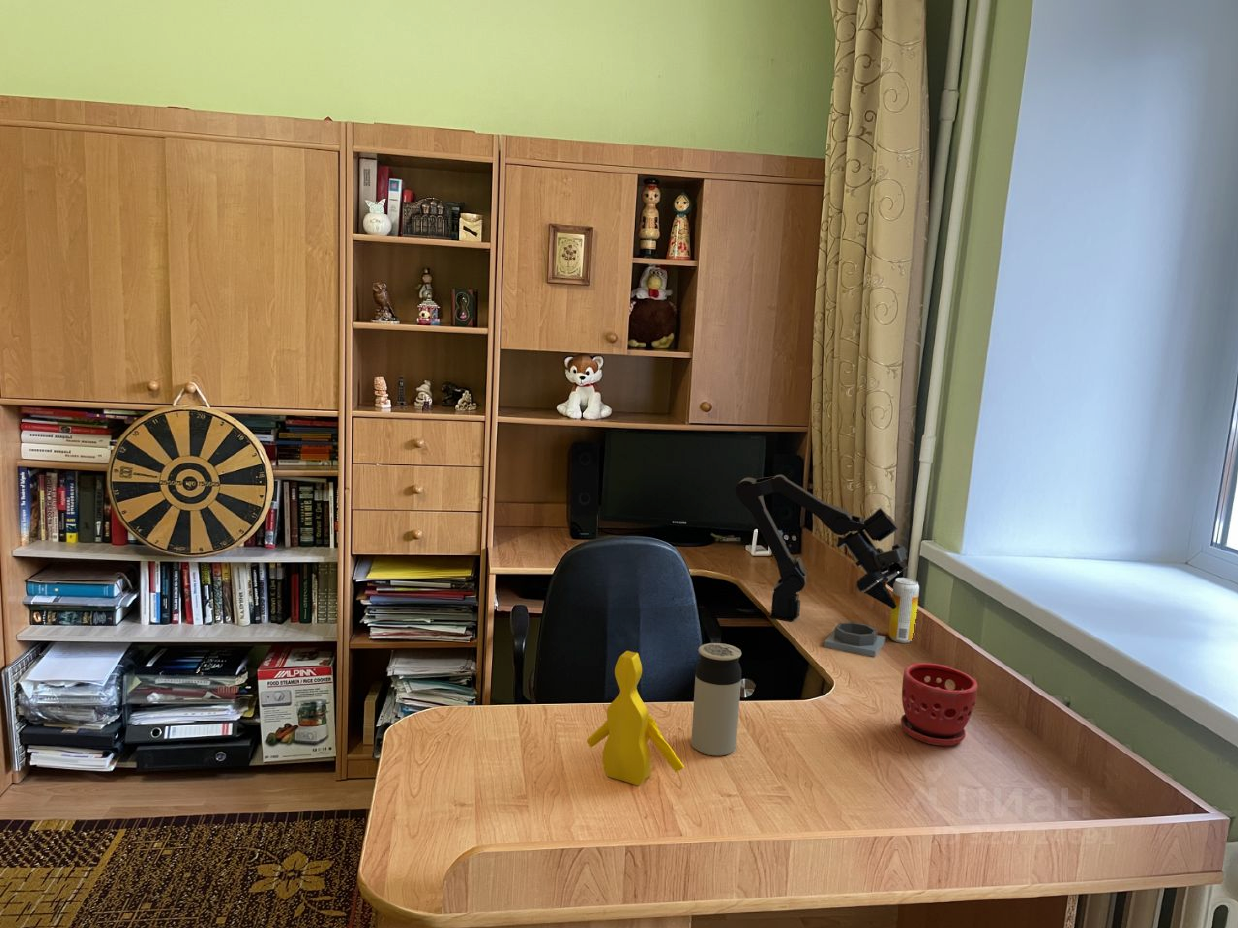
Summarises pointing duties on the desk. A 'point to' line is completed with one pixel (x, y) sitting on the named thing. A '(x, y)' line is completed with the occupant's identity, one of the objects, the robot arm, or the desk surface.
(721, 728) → the travel mug
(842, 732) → the desk surface
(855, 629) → the collar dock
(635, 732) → the figure statuette
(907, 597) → the beer can
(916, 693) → the plant pot
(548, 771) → the desk surface
